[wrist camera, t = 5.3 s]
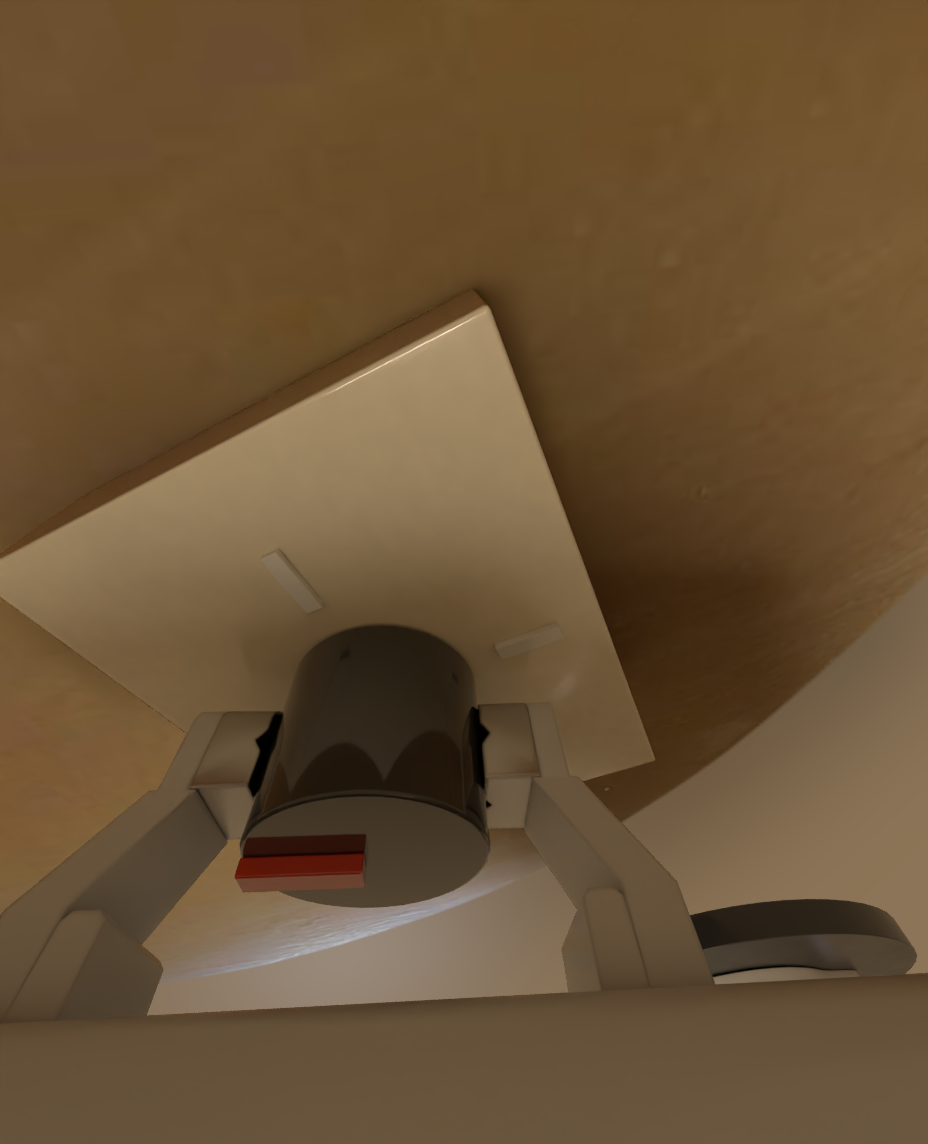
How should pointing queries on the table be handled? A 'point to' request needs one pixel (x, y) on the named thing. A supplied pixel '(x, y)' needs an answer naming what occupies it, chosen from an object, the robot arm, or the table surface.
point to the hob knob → (371, 776)
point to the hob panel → (343, 545)
